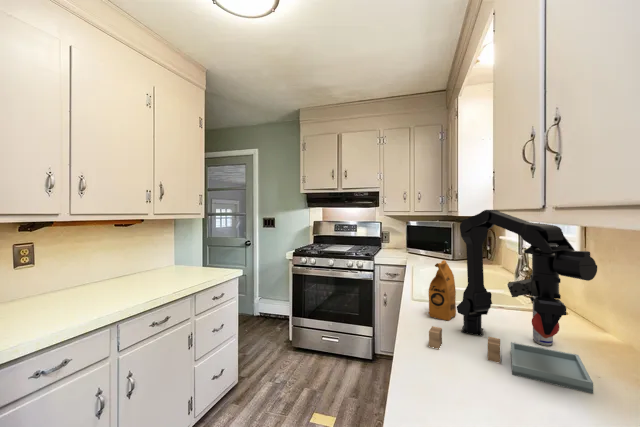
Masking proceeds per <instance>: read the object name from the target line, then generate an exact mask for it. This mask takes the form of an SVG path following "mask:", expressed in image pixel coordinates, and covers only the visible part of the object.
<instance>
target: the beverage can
mask: <svg viewBox="0 0 640 427" xmlns="http://www.w3.org/2000/svg"><path fill="white" fill-rule="evenodd" d="M532 297H534V296H532ZM536 313H537V312H536V311H534V309H533V308H532V317H533V316H534V315H535V314H536ZM532 338H533V341H534V342H535V343H536V344H538V345H540V346H547V347H549V346H551V345H553V343H554V336H552V337H549V338H543V337H542V336H541V335H540V334H539V333H538V332H537V331H536V330H535V329H534V327H533V326H532Z"/></svg>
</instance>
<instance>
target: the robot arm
mask: <svg viewBox="0 0 640 427" xmlns="http://www.w3.org/2000/svg"><path fill="white" fill-rule="evenodd" d="M494 226H496V227H499V228H501V229H503V230H506V231H509V232H512V233H514V234H516V235H518V236H520V238H521V239H522V240H523V241H524V242H526V243H528V244H529V245H530V246H529V247H528V248H527V249H524V251H523V252H524V254H528V255H531V274H529V278H527V279H521V280H516V281H512V282H507V288H508V290H509V292H510V295H511V297H512V298H518V297H519V296H525V295H526V296H527V295H528V296H529V299H530V301H531V302H532V310H533V309H534V311H536V312H537V313H538V314H539V315H540V317H541V321H542V326H543V330H544V334H545V335H550V334H551V332H552V331H553V329H554V327H555V326H556V324H557V323H559V321H560V319H561V318H562V316H567V306H566V304H564V302H563V301H562V300H561V299H562V298H561V297H562V296H561V293H560V284H561V277H560V276H562V277H565V278H566V277H567V278H573V279H576V280H577V279H578V280H583V281H586V282H589V281H591V280H593V279H594V278H595V277H596V275H597V273H598V265H597V263H596V261H595V259H594V258H593V257H592V256H591V252H590V251H587V250H579V251H578V250H575V248H574V247H573V245H572V244H571V243H570V241H568V239H567V238H566V236H565V235H564V232H563V229H562V228H561V227H560V226H558V225H556V224H555V225H553V224H547V223H538V222H530V221H528V220H525V219H522V218H518V217H515V216H512V215H510V214H507V213H504V212H501V211H499V210H498V209H484V210H482V211H481V212H480V213H477V214H475V215H473V216H469V217H468V218H465V219H463V220H462V221H461V222H460V224H459V230H460V237H461V238H462V240H463V242H464V243H465V245H466V246H465V247H466V248H465V249H466V270H467V271H466V272H467V286H466V288H465V289H464V291H463V293H462V301H461V302H459V304H458V305H456V312H457V314H459V315H461V316H463V319H462V320H463V323H462V324H463V325H462V328H461V330H460V331H461V333H464V334H470V335H475V336H481V337H482V336H483V335H484V328H483V327H482V326H483V325H482V323H483V322H482V316H483V315H484V316H485V315H488V313H489V310H490V309H491V306H492V305H493V301H492V293H491V291H488V290H487V289H486V287H485V285H484V284H485V283H484V282H485V280H484V279H485V278H484V258H483V257H484V255H483V244H484V243H485V241H486V239H487V237H488V230H490V229H491V228H493V227H494ZM533 296H534V297H533Z"/></svg>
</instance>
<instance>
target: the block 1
mask: <svg viewBox="0 0 640 427" xmlns="http://www.w3.org/2000/svg"><path fill="white" fill-rule="evenodd" d="M441 344H442V345H443V328H442V327H439V326H434V325H432V326H431V327H430V329H429V331H428V347H429V346H430V347H434V348H433V349H435V348H438V349H437V350H440V349H441V347H442V345H441ZM440 346H441V347H440ZM430 347H429V348H430ZM439 348H440V349H439Z"/></svg>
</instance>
